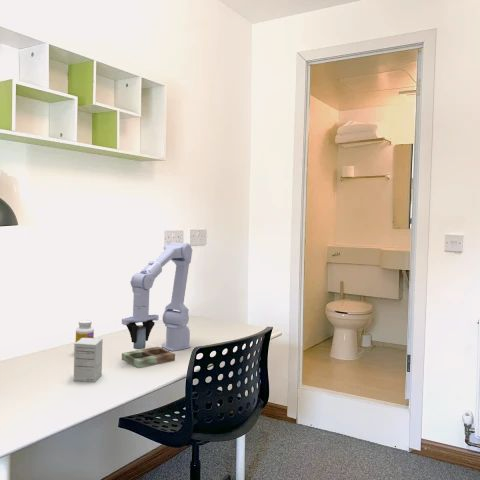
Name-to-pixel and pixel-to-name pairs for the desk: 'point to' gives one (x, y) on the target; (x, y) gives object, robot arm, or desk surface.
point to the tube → (140, 338)
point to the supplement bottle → (84, 330)
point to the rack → (148, 357)
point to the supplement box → (88, 359)
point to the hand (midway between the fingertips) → (139, 341)
